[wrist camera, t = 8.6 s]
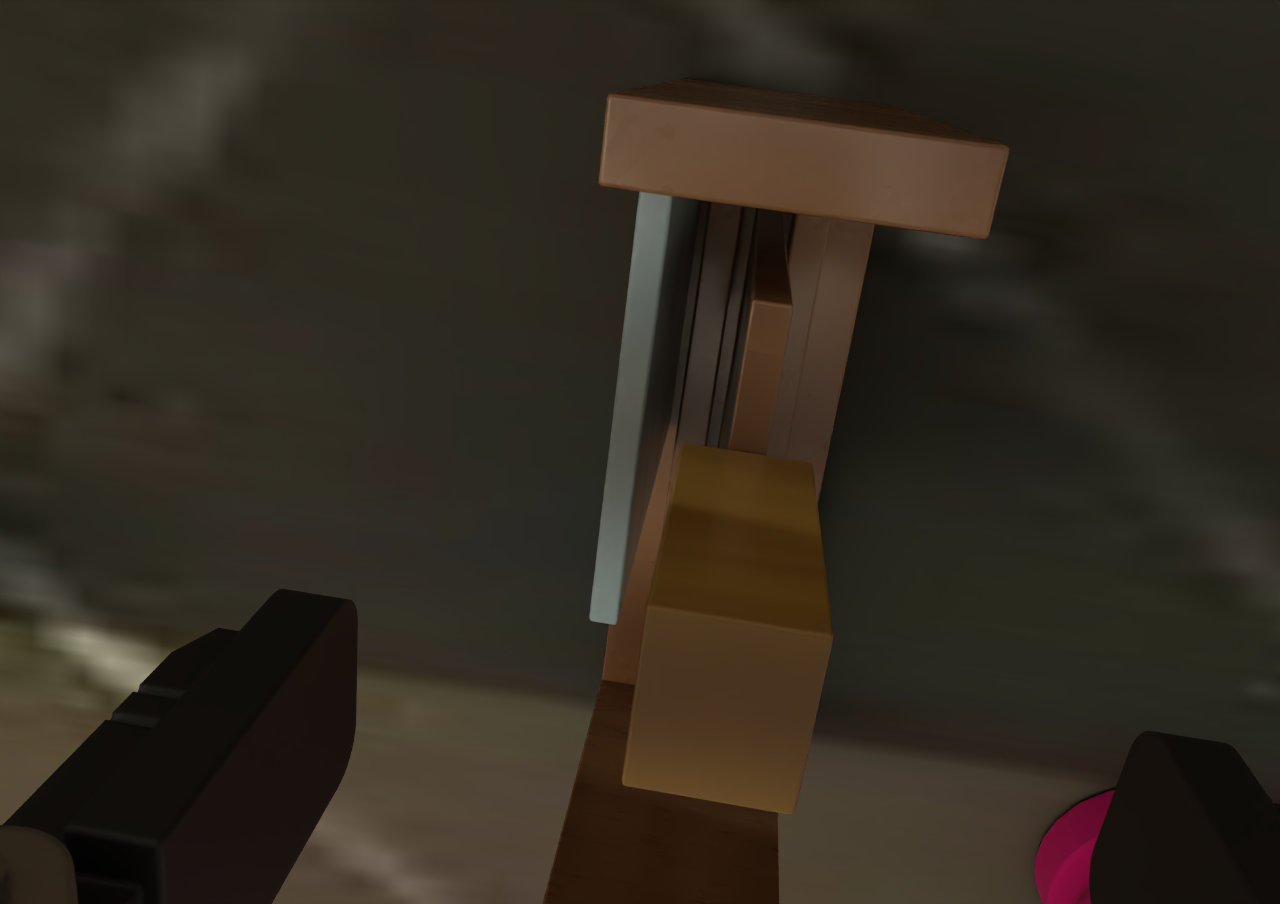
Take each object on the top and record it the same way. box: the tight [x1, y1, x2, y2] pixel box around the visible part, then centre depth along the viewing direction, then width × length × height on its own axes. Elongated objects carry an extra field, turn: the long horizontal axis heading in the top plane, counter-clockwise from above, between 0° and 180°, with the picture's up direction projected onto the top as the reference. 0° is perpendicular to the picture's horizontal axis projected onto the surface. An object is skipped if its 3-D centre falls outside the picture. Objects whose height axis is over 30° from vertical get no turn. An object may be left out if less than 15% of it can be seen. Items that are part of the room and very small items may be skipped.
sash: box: [622, 208, 834, 815], centre depth 18 cm, size 7×2×16 cm, turn 173°
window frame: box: [543, 78, 1010, 904], centre depth 22 cm, size 18×5×13 cm, turn 173°
